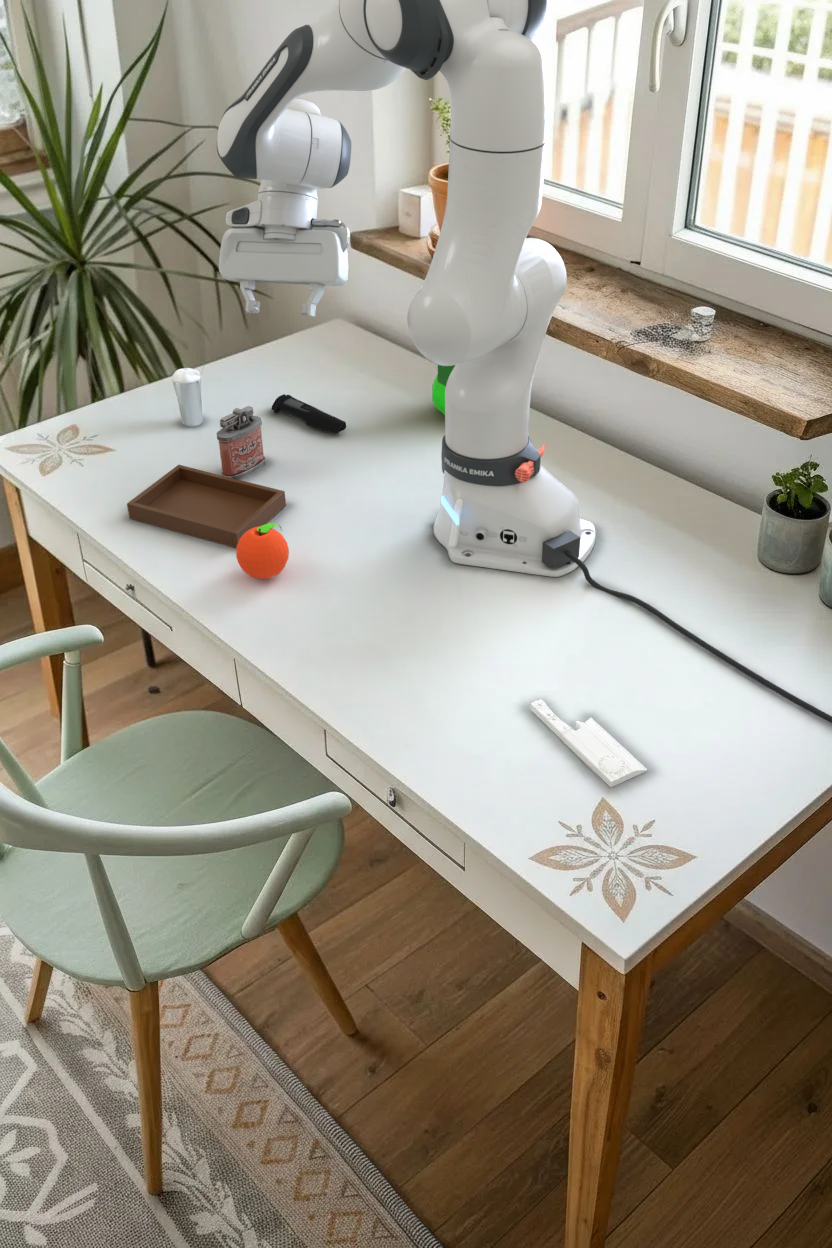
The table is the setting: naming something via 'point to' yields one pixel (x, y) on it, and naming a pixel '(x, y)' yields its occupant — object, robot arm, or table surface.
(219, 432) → the lighter
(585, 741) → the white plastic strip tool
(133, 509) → the tray
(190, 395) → the milkshake
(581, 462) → the table surface
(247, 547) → the clementine
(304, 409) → the electric trimmer
